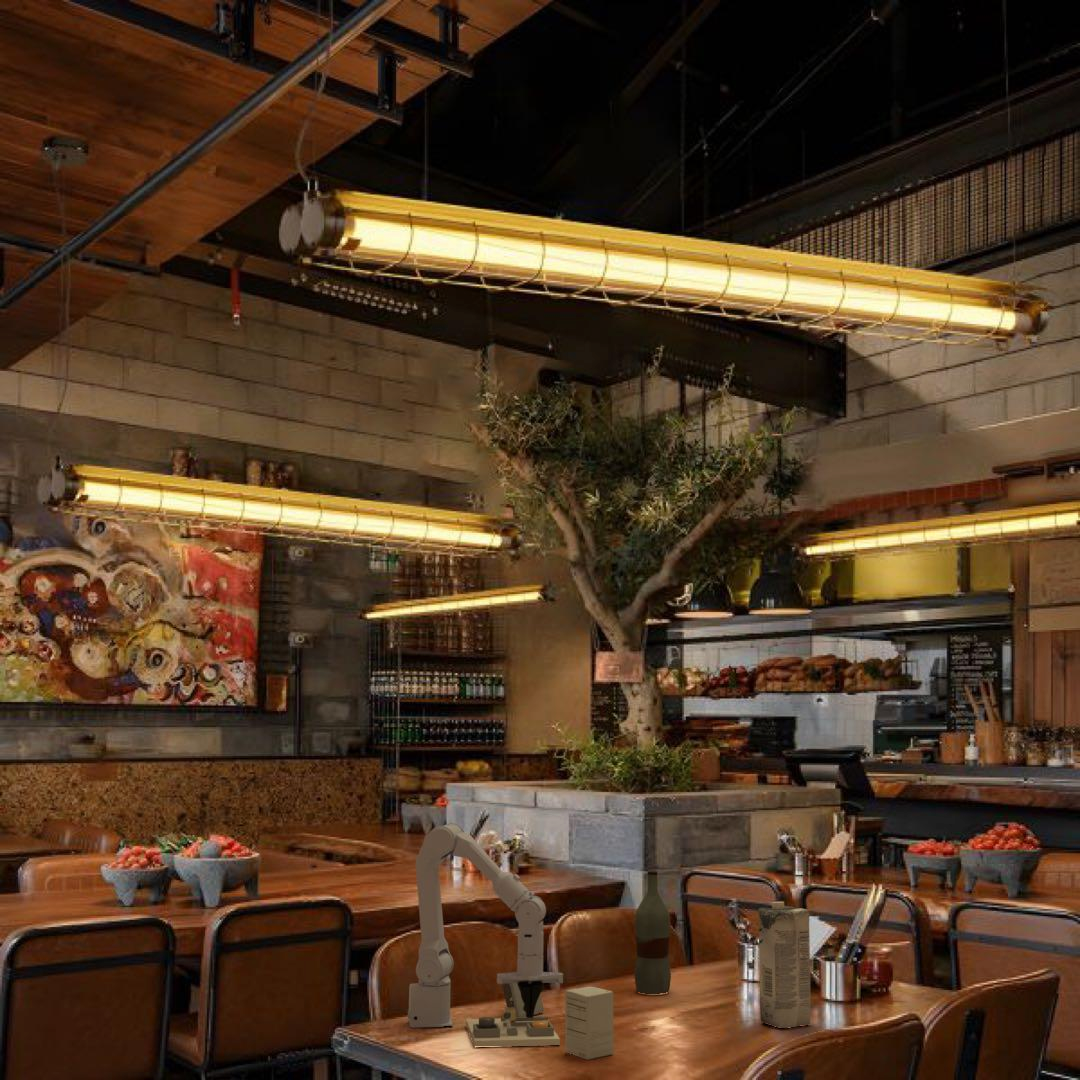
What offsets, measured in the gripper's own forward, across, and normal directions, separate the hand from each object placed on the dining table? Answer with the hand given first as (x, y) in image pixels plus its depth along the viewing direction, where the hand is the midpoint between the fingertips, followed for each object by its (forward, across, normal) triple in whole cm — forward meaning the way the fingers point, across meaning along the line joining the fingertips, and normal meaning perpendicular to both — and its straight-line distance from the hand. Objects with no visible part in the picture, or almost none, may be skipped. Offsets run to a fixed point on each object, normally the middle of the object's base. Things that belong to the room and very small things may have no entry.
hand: (529, 1016), depth 298 cm
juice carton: (+3, +58, -1) cm, 58 cm away
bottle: (+3, +36, +37) cm, 52 cm away
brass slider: (+1, -4, 0) cm, 4 cm away
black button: (0, -11, -10) cm, 15 cm away
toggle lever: (+1, -6, -10) cm, 12 cm away
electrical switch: (+3, 0, +15) cm, 15 cm away
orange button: (+1, +1, -10) cm, 10 cm away
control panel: (+3, -5, -5) cm, 7 cm away
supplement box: (+3, +9, -22) cm, 24 cm away
